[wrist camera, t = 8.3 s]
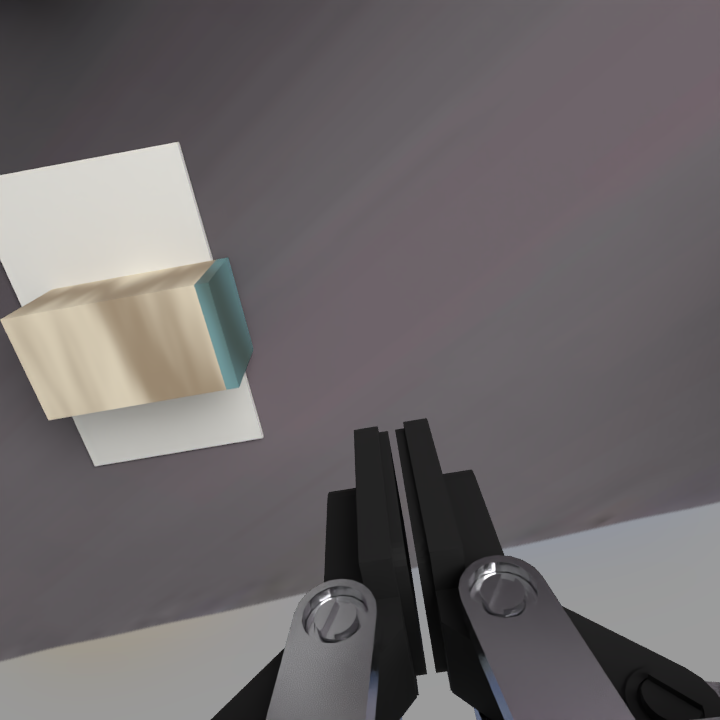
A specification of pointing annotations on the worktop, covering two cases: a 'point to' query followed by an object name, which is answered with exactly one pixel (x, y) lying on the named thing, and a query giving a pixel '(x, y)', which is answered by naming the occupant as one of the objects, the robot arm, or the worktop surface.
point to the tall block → (133, 339)
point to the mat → (117, 259)
